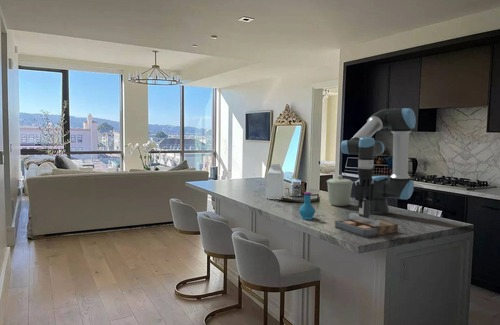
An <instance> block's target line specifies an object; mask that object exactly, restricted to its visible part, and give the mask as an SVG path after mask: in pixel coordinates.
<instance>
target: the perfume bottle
mask: <svg viewBox="0 0 500 325" xmlns="http://www.w3.org/2000/svg"><path fill="white" fill-rule="evenodd" d="M303 194H304V195H303V196H304V199H303V200H304V203H303V204H302V205H301V207H300V208H299V210H298V212H299V214H300V216H301V217H300V218H301V219H303V220H313V218H314V215H315V213H316V209H315V208H314V206H313V204H311V202H312V201H311V200H312V199H311V198H312V197H311V196H312V192H310V191H309V192H308V191H305V192H303Z"/></svg>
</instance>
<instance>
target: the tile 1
mask: <svg viewBox="0 0 500 325" xmlns="http://www.w3.org/2000/svg"><path fill="white" fill-rule="evenodd" d="M342 223H345V224H348V225H352V226H355V227H356V223H355V222H352V221H344V222H342Z"/></svg>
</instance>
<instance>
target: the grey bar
mask: <svg viewBox="0 0 500 325" xmlns="http://www.w3.org/2000/svg"><path fill="white" fill-rule="evenodd" d="M363 202H364V215H362V214H359V213H355V212H350V213H349V214H348V219H351V220H354V221H357V222H361V223H364V224H368V225H371V226H375V227H376V226H380V220H378V219H379V218H377V219H374V218H375V217H373V218H370V217H371V216H370V214H369V203H370V200H369V199H366V198H363Z"/></svg>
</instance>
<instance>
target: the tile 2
mask: <svg viewBox="0 0 500 325" xmlns="http://www.w3.org/2000/svg"><path fill="white" fill-rule="evenodd" d="M357 227H358V228H361V229H364V230H366V229H372V227H369V226H365V225H362V226H357Z"/></svg>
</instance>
